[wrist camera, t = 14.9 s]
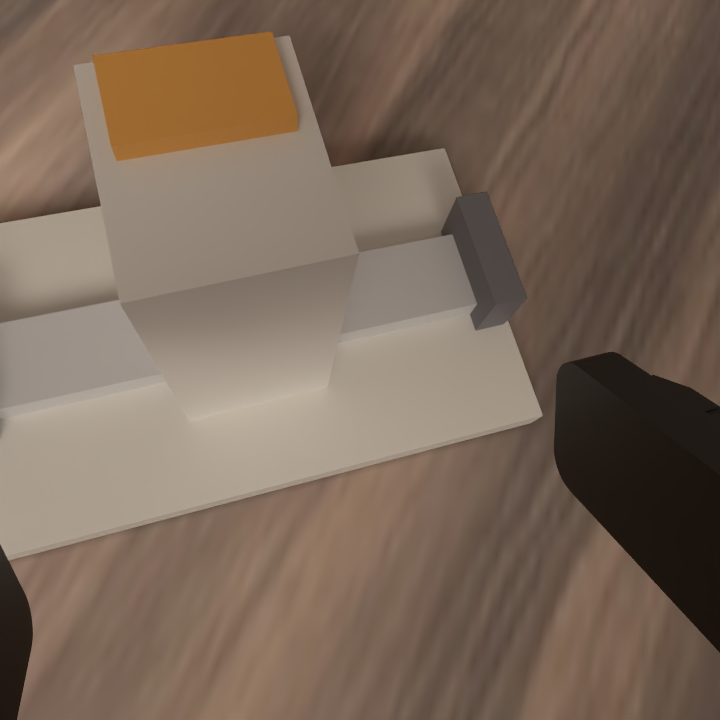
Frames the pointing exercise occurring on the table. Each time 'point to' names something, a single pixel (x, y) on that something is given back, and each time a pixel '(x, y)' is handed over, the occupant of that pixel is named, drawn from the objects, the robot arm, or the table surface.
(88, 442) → the mounting board
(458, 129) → the table surface
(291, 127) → the rail module
